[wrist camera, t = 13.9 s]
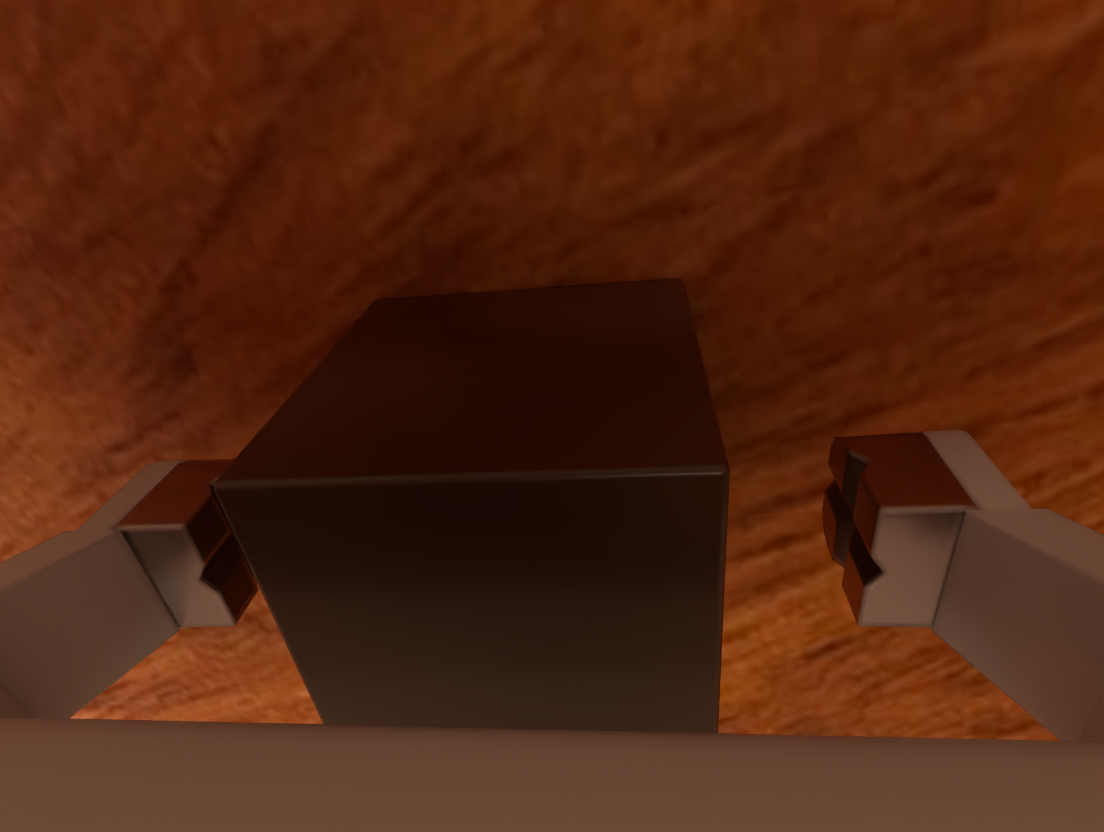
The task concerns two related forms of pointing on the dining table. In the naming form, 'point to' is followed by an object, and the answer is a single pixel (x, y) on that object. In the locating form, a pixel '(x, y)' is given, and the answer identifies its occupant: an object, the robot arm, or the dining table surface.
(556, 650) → the block
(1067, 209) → the dining table surface
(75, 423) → the dining table surface
